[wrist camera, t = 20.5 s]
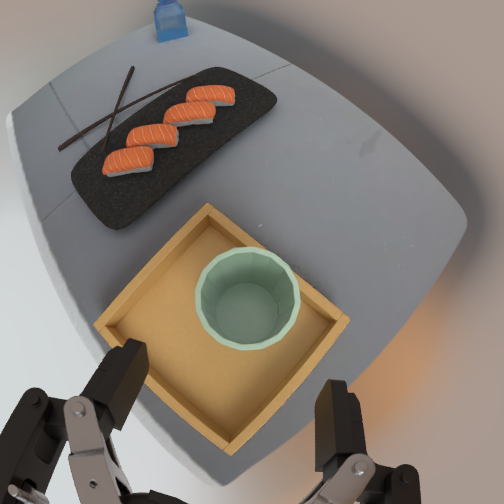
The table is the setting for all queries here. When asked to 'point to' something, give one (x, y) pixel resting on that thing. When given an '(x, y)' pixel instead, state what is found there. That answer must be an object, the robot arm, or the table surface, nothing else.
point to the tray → (205, 346)
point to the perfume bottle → (169, 20)
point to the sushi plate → (164, 141)
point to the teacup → (247, 298)
